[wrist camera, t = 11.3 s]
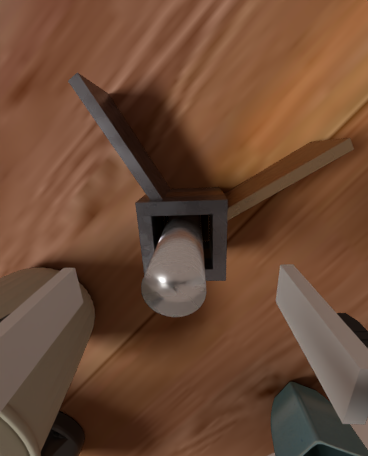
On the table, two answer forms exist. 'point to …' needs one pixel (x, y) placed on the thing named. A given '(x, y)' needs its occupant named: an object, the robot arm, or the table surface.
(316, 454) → the flower pot
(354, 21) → the table surface
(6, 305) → the canister
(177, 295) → the hinge pin
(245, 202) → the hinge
